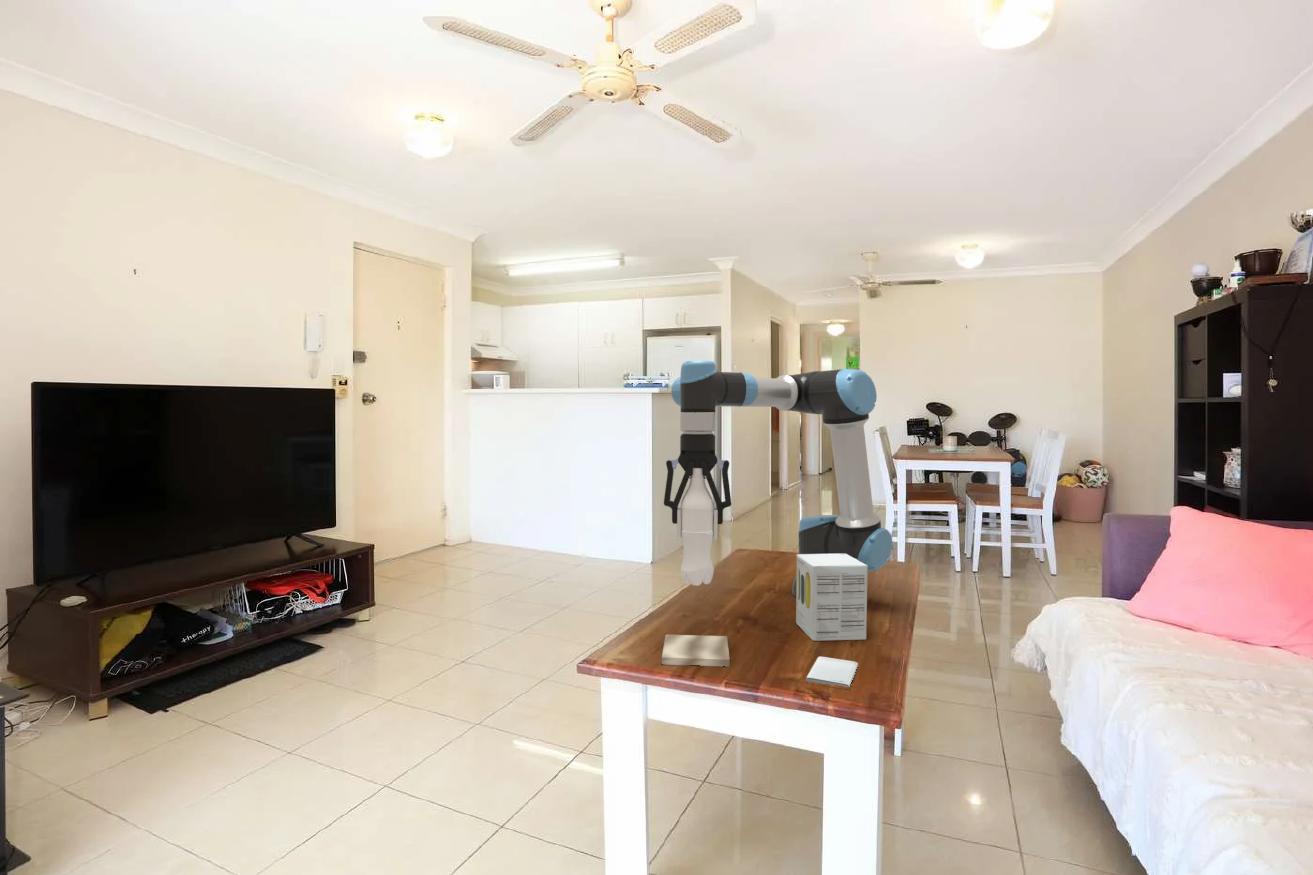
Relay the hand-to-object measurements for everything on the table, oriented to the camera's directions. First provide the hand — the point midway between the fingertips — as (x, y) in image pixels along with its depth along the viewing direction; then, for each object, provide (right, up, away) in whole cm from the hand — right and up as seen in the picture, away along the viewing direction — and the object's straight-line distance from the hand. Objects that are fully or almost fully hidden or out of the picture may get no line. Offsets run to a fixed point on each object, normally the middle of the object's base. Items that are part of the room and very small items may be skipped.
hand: (697, 538), depth 138 cm
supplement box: (+33, -25, +16) cm, 44 cm away
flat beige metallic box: (0, -25, +1) cm, 25 cm away
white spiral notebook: (+26, -26, -10) cm, 39 cm away
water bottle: (0, -10, 0) cm, 10 cm away
